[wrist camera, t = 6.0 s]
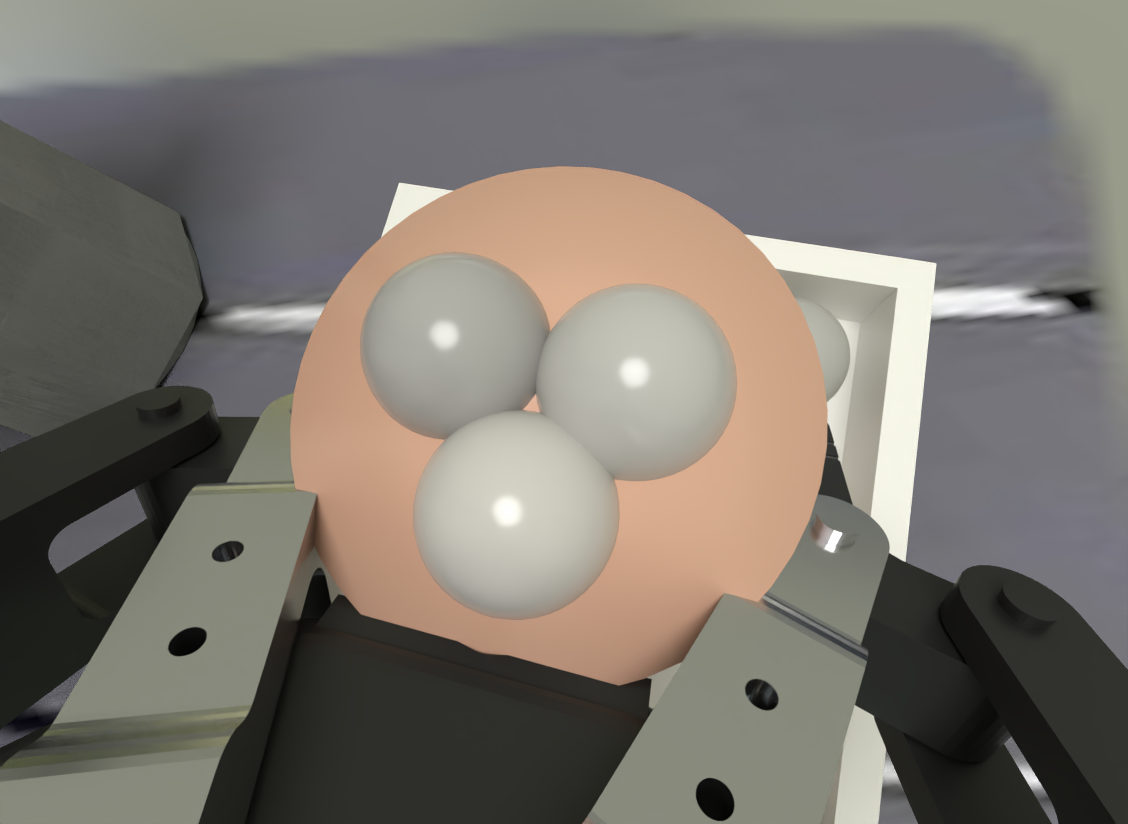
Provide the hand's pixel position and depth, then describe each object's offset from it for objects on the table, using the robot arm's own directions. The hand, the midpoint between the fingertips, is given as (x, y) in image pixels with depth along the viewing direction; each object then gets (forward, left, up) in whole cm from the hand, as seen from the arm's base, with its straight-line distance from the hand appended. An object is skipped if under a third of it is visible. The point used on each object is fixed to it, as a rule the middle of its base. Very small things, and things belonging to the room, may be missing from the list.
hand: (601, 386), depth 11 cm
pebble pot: (-1, -2, -4) cm, 5 cm away
